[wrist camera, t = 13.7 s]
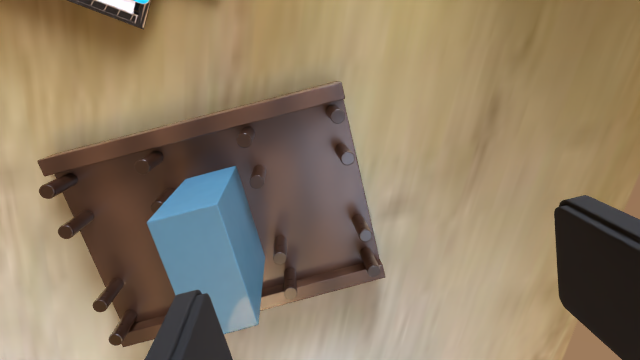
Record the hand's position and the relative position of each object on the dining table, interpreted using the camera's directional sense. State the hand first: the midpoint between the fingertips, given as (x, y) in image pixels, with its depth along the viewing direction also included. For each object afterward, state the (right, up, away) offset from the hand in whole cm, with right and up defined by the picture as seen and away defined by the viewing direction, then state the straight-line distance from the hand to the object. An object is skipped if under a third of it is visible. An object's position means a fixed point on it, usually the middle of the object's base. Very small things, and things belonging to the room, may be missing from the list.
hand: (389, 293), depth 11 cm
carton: (-9, 0, +21) cm, 23 cm away
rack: (-9, 0, +22) cm, 24 cm away
